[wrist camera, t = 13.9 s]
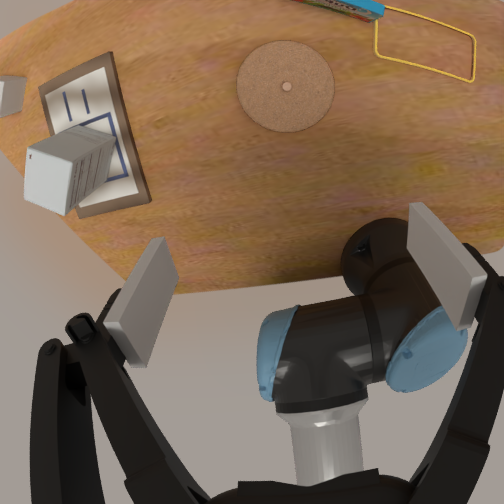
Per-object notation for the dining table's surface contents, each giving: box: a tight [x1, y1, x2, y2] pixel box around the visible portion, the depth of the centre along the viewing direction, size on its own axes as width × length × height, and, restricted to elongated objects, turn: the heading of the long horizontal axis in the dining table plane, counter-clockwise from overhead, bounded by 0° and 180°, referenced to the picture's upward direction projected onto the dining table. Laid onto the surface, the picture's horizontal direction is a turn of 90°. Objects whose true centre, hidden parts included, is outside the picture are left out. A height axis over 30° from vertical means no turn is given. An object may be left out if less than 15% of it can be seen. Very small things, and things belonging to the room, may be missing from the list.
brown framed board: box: [38, 52, 152, 219], centre depth 41 cm, size 24×14×1 cm, turn 10°
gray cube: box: [0, 75, 27, 118], centre depth 33 cm, size 6×6×6 cm
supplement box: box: [24, 125, 116, 216], centre depth 36 cm, size 7×7×13 cm
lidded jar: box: [236, 40, 335, 133], centre depth 33 cm, size 11×11×9 cm
